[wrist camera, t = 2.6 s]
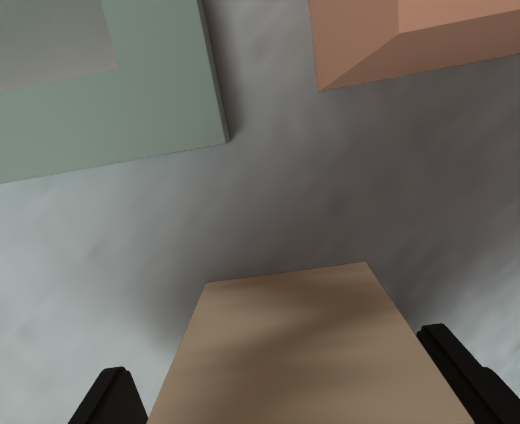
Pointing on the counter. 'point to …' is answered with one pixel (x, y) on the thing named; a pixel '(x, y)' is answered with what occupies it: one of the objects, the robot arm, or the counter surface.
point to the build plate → (104, 84)
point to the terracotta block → (407, 37)
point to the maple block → (303, 356)
